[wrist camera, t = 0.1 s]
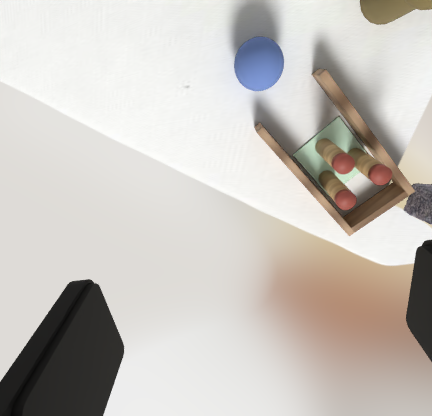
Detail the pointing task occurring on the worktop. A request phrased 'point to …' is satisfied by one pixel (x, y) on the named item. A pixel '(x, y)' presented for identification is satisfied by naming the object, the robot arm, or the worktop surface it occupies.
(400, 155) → the worktop surface
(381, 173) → the pin
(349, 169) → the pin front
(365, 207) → the lane
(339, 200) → the pin
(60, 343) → the robot arm
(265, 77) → the ball
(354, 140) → the pin deck mark
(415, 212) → the rock
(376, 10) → the cork
